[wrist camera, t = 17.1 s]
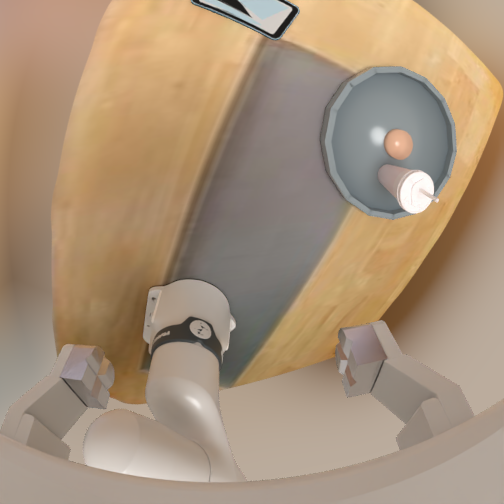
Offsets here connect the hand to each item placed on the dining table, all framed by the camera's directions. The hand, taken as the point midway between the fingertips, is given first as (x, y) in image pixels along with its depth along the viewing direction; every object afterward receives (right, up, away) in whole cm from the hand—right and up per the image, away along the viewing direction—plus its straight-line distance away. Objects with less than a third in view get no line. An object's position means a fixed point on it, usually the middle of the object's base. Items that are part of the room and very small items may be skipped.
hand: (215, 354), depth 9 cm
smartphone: (0, +40, +21) cm, 45 cm away
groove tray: (+25, +22, +32) cm, 46 cm away
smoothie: (+24, +16, +34) cm, 45 cm away
